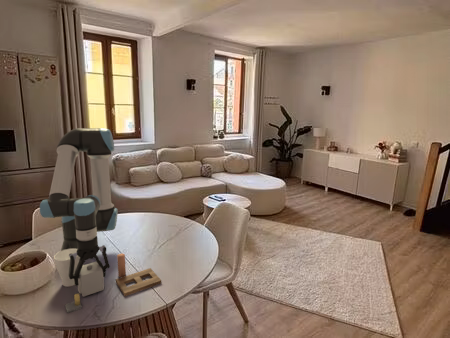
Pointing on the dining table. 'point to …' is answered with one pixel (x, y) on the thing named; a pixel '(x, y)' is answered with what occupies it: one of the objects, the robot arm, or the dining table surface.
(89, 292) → the block
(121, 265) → the peg
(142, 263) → the dining table surface
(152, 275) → the board
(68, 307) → the pad
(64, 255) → the cup
